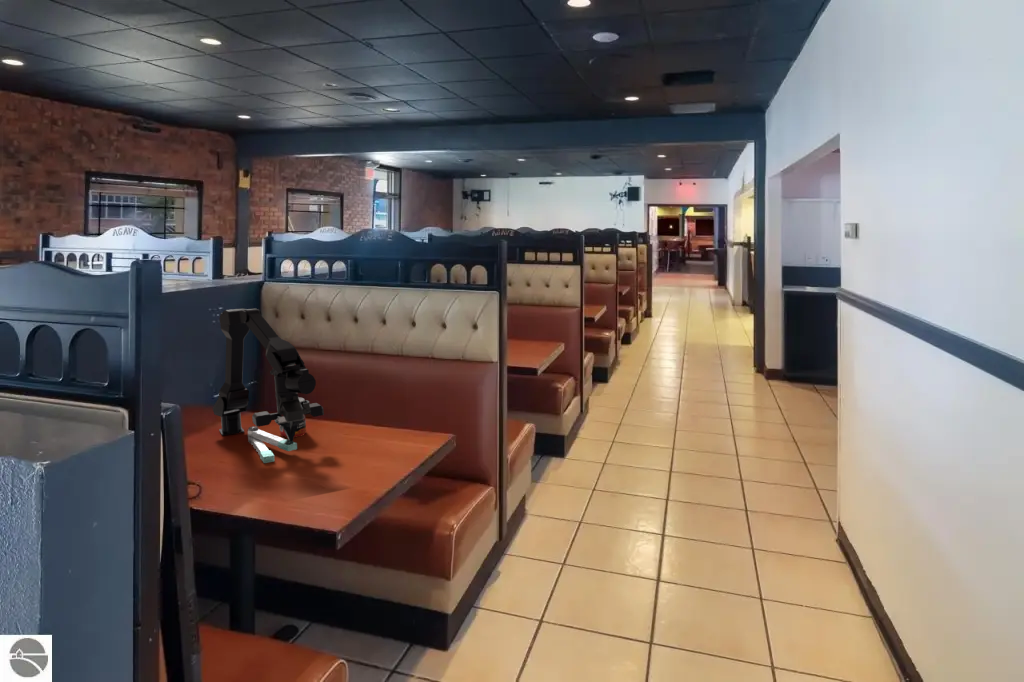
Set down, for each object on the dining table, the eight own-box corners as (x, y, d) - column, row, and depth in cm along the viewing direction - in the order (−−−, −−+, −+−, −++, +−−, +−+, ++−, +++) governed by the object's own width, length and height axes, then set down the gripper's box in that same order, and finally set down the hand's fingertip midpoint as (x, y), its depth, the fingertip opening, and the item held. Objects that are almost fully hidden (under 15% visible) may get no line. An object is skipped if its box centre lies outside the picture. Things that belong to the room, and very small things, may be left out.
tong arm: (245, 435, 193) (245, 427, 192) (255, 433, 195) (255, 425, 195) (287, 451, 179) (287, 443, 178) (297, 448, 181) (297, 440, 181)
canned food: (298, 438, 197) (296, 403, 195) (274, 436, 198) (272, 402, 197) (310, 431, 204) (309, 397, 202) (288, 429, 206) (286, 396, 204)
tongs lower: (247, 441, 194) (247, 435, 193) (258, 439, 195) (258, 433, 195) (263, 463, 175) (262, 457, 175) (275, 461, 177) (274, 455, 176)
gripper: (258, 400, 170) (263, 457, 173) (327, 389, 180) (332, 443, 183) (249, 393, 180) (254, 447, 182) (315, 383, 190) (320, 434, 192)
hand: (291, 443), depth 184 cm, fingers closed
